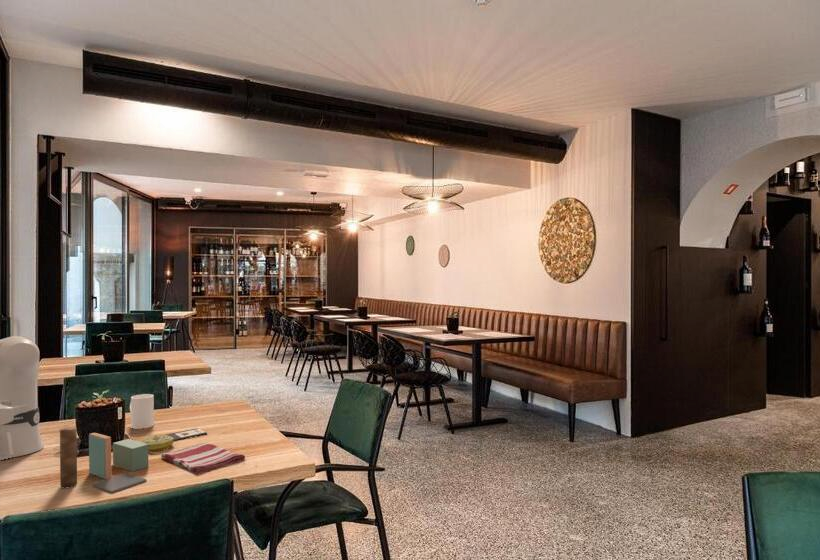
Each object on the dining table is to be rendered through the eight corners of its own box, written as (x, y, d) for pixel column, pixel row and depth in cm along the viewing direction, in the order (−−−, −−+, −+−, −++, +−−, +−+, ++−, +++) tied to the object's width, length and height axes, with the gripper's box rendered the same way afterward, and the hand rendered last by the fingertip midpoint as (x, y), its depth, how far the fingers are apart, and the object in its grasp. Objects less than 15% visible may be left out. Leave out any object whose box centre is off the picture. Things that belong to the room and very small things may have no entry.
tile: (104, 479, 156) (104, 438, 156) (88, 473, 161) (88, 434, 161) (111, 477, 157) (110, 437, 157) (95, 471, 162) (94, 432, 162)
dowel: (57, 488, 149) (57, 431, 149) (64, 483, 153) (63, 427, 153) (73, 487, 150) (72, 430, 150) (79, 482, 154) (79, 426, 154)
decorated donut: (172, 442, 192) (172, 431, 192) (174, 450, 182) (174, 439, 182) (140, 446, 187) (140, 435, 187) (140, 455, 178) (140, 443, 178)
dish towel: (196, 476, 159) (196, 467, 159) (159, 459, 174) (159, 451, 174) (245, 461, 172) (245, 452, 172) (207, 446, 187) (207, 439, 187)
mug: (121, 426, 212) (121, 396, 212) (142, 421, 220) (142, 392, 220) (138, 430, 206) (137, 399, 206) (159, 425, 213) (158, 395, 213)
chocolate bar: (148, 438, 194) (197, 428, 207) (148, 440, 194) (197, 430, 207) (157, 443, 188) (207, 432, 200) (157, 446, 188) (207, 435, 200)
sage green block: (132, 471, 162) (132, 448, 162) (113, 465, 168) (112, 442, 168) (148, 466, 166) (148, 444, 166) (128, 460, 172) (128, 438, 172)
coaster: (111, 493, 146) (111, 491, 146) (92, 485, 151) (92, 483, 151) (146, 481, 154) (146, 479, 154) (127, 474, 160) (127, 472, 160)
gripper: (-64, 423, 135) (1, 412, 147) (-31, 436, 124) (36, 423, 136) (-63, 398, 135) (1, 389, 147) (-31, 408, 124) (36, 398, 136)
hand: (18, 405), depth 141 cm, fingers open, 8 cm apart
